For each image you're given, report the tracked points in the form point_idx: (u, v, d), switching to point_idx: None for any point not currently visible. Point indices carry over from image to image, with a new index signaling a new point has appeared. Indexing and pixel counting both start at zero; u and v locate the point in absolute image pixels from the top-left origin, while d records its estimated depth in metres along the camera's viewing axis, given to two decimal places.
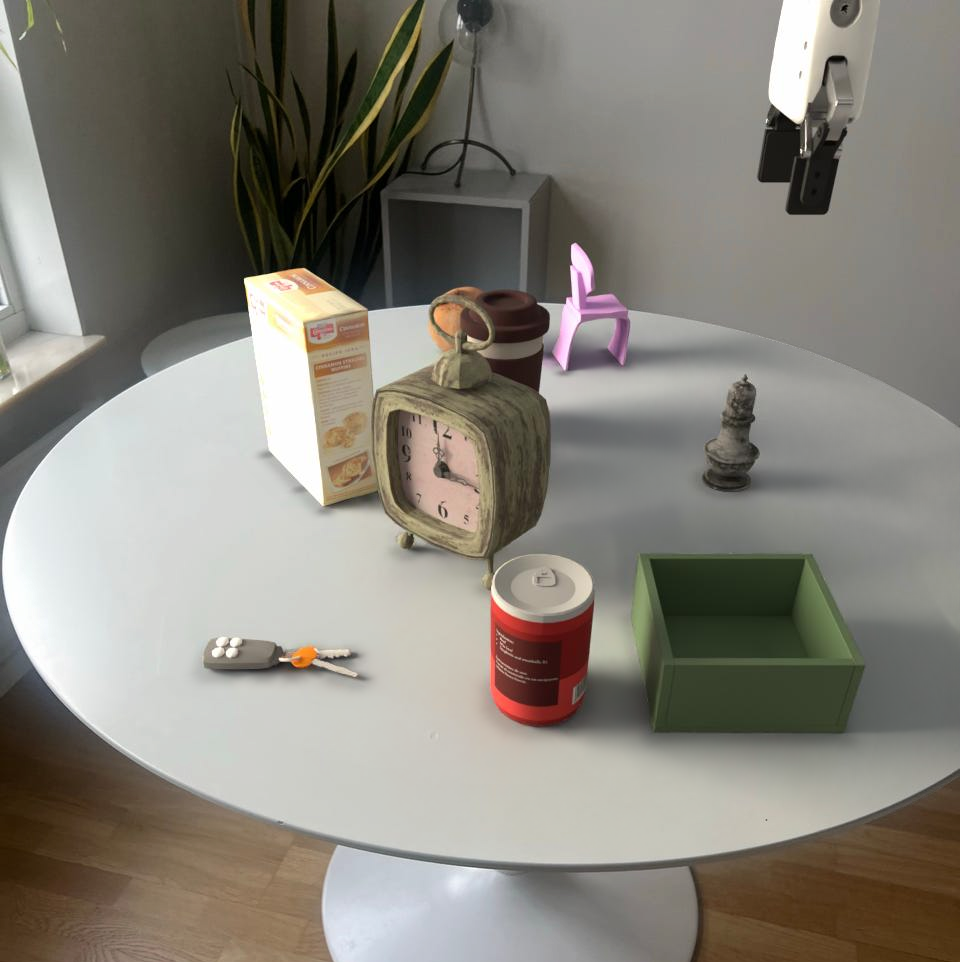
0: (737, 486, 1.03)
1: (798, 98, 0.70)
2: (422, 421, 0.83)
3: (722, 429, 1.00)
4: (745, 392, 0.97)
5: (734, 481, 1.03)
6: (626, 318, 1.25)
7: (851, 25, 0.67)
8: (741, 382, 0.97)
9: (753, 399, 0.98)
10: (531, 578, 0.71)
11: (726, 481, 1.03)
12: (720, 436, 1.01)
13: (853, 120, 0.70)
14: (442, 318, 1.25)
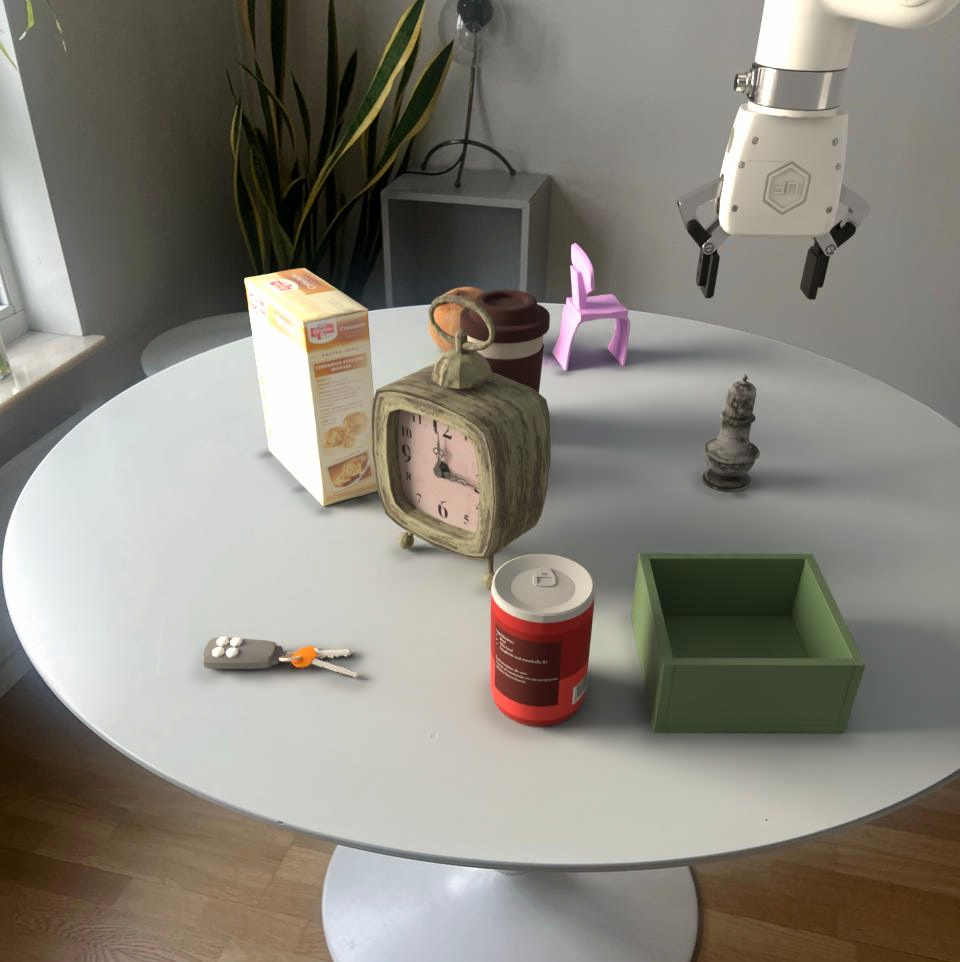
0: (737, 486, 1.03)
1: (720, 200, 0.88)
2: (422, 421, 0.83)
3: (722, 429, 1.00)
4: (745, 392, 0.97)
5: (734, 481, 1.03)
6: (626, 318, 1.25)
7: (729, 153, 0.84)
8: (741, 382, 0.97)
9: (753, 399, 0.98)
10: (531, 578, 0.71)
11: (726, 481, 1.03)
12: (720, 436, 1.01)
13: (724, 230, 0.86)
14: (443, 318, 1.25)
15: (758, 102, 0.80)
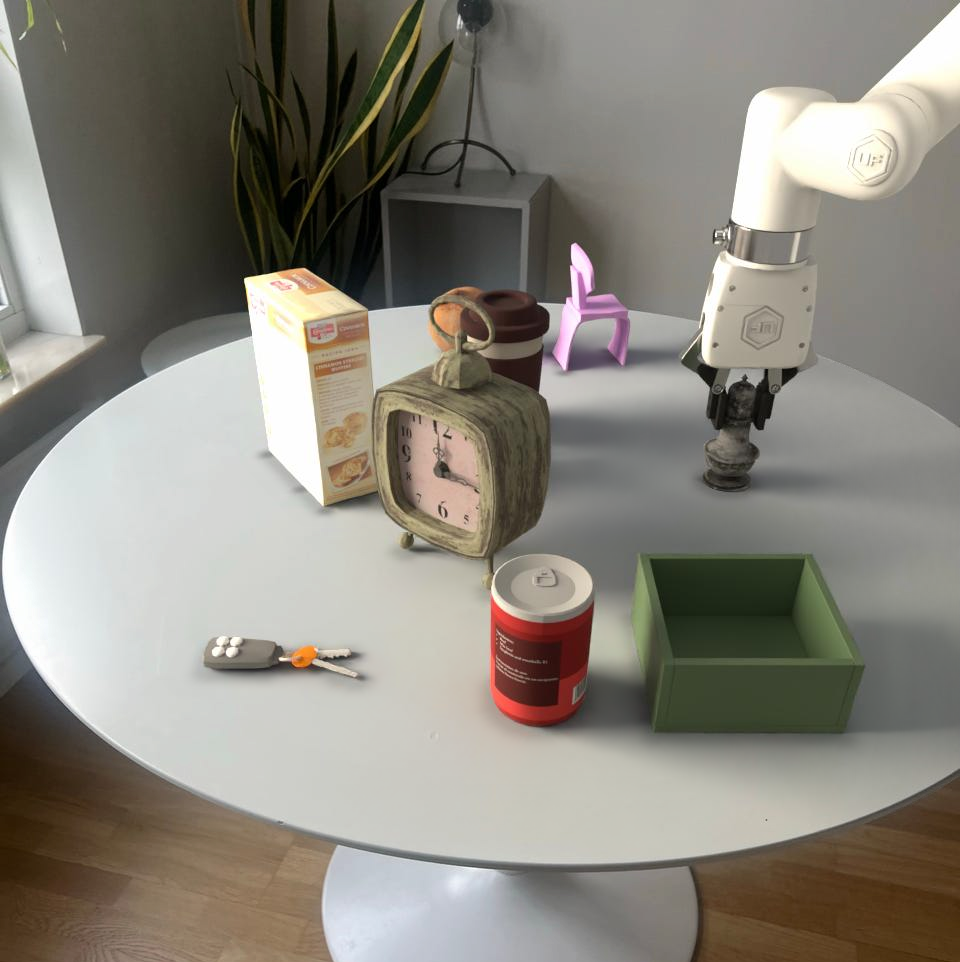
0: (737, 486, 1.03)
1: None
2: (422, 421, 0.83)
3: (722, 429, 1.00)
4: (745, 392, 0.97)
5: (734, 481, 1.03)
6: (626, 318, 1.25)
7: (710, 296, 0.92)
8: (741, 382, 0.97)
9: (753, 399, 0.98)
10: (531, 578, 0.71)
11: (726, 481, 1.03)
12: (720, 436, 1.01)
13: (706, 363, 0.94)
14: (443, 318, 1.25)
15: (734, 255, 0.88)
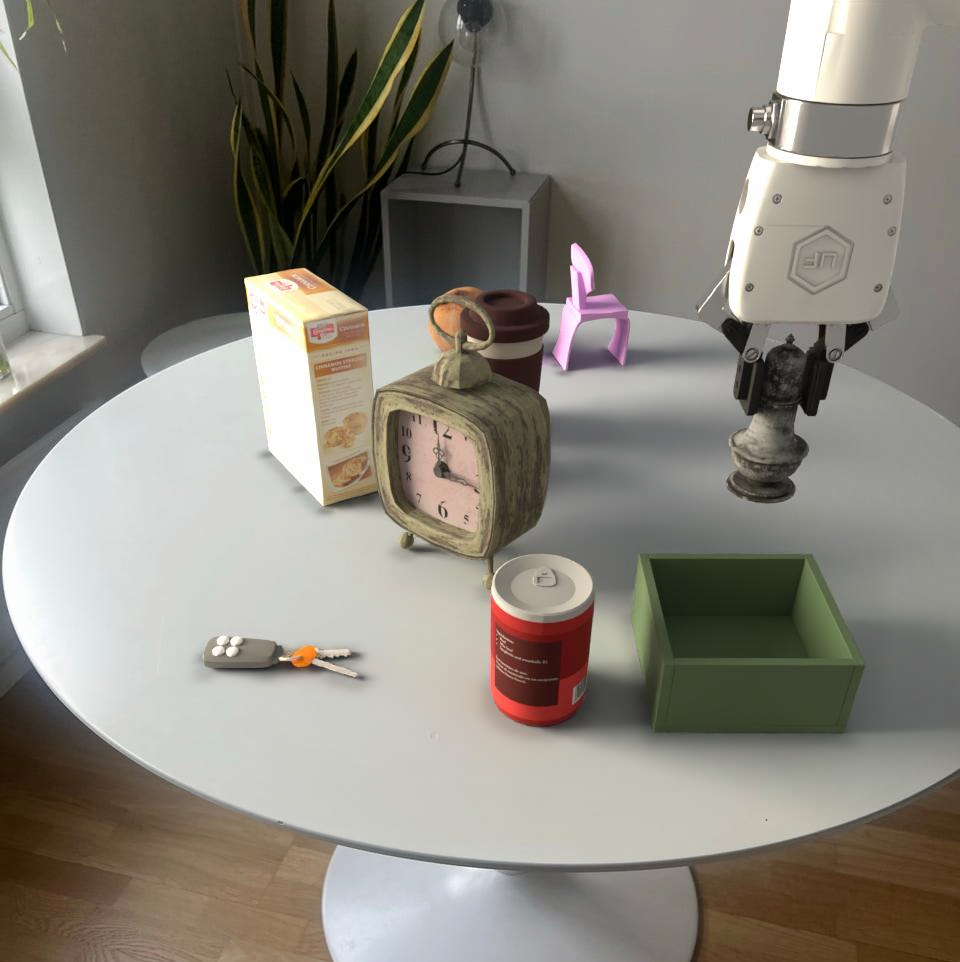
0: (777, 496, 0.72)
1: None
2: (422, 421, 0.83)
3: (756, 414, 0.70)
4: (790, 360, 0.67)
5: (772, 488, 0.73)
6: (626, 318, 1.25)
7: None
8: (785, 346, 0.67)
9: (802, 370, 0.68)
10: (531, 578, 0.71)
11: (760, 489, 0.73)
12: (753, 424, 0.71)
13: (736, 315, 0.64)
14: (442, 318, 1.25)
15: (781, 146, 0.58)
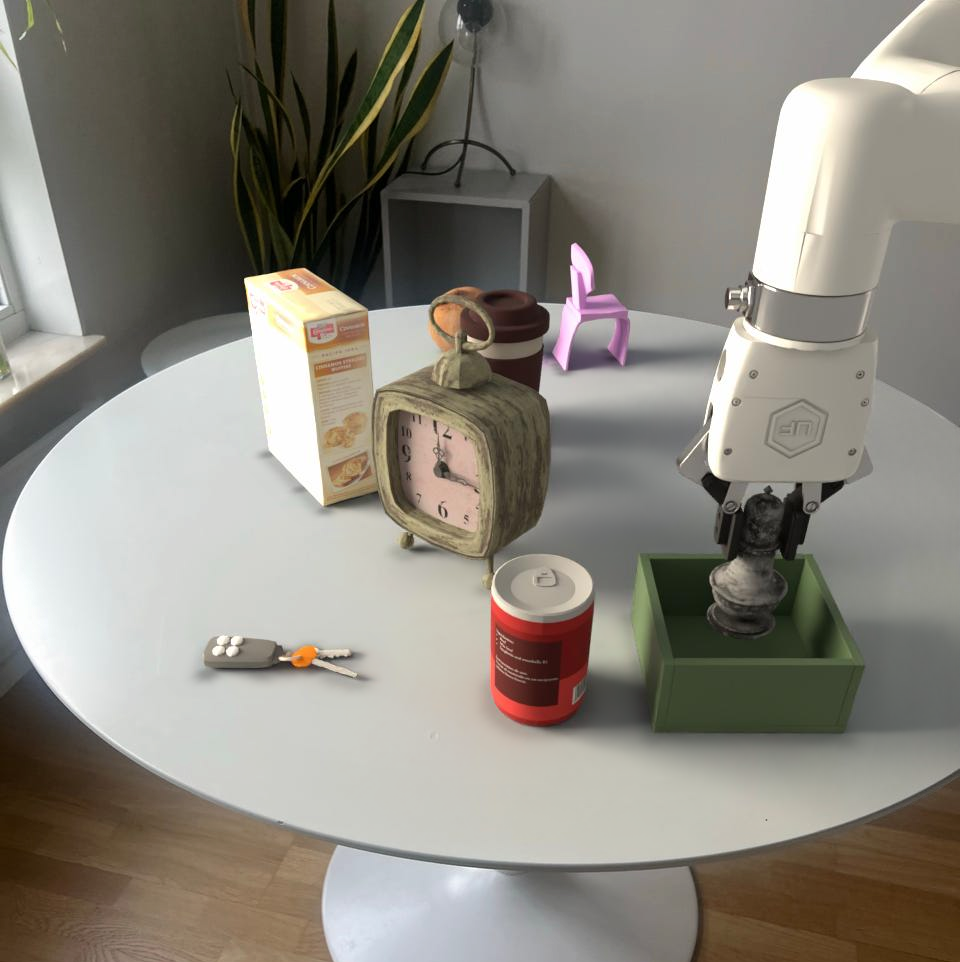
0: (756, 632, 0.74)
1: None
2: (422, 421, 0.83)
3: None
4: (768, 511, 0.69)
5: (752, 623, 0.75)
6: (626, 318, 1.25)
7: None
8: (763, 496, 0.69)
9: (780, 519, 0.69)
10: (531, 578, 0.71)
11: (740, 624, 0.75)
12: (733, 565, 0.73)
13: (715, 474, 0.66)
14: (443, 318, 1.25)
15: (757, 326, 0.60)
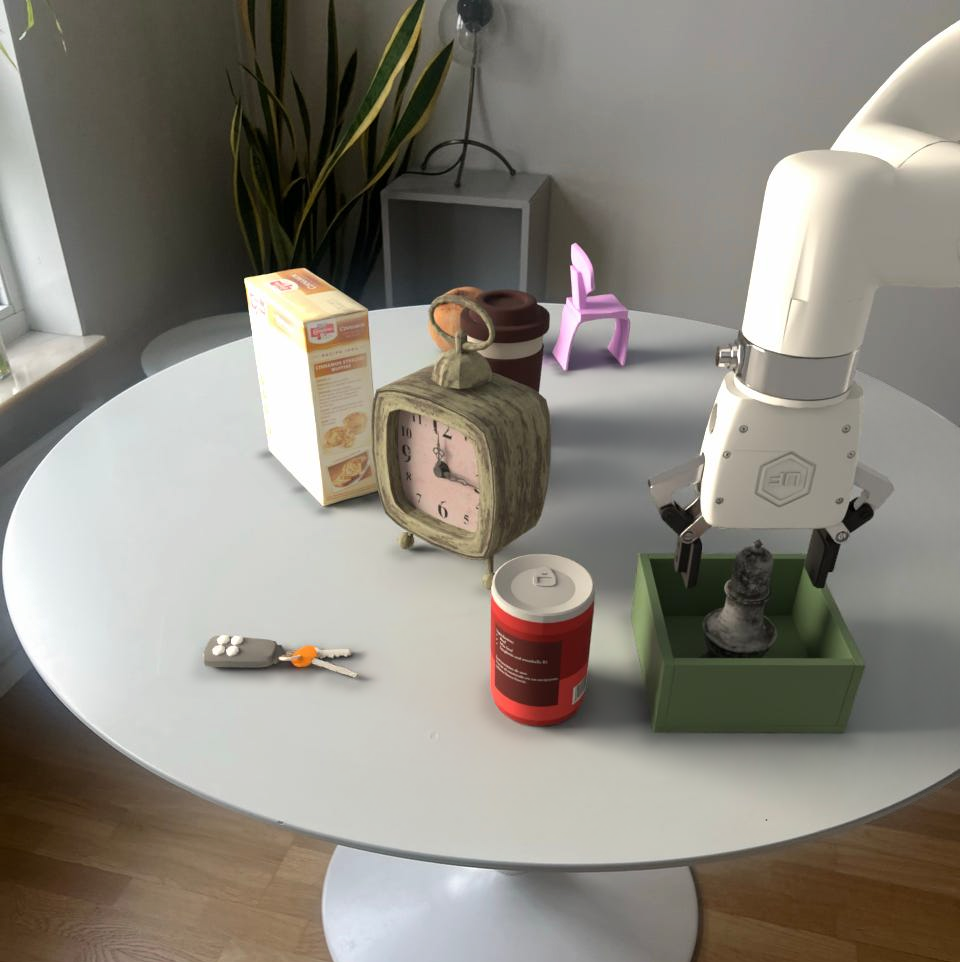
0: None
1: None
2: (422, 421, 0.83)
3: (727, 605, 0.75)
4: (758, 564, 0.71)
5: None
6: (626, 318, 1.25)
7: None
8: (753, 549, 0.72)
9: (769, 572, 0.72)
10: (531, 578, 0.71)
11: None
12: (724, 613, 0.76)
13: (707, 522, 0.68)
14: (443, 318, 1.25)
15: (746, 383, 0.62)
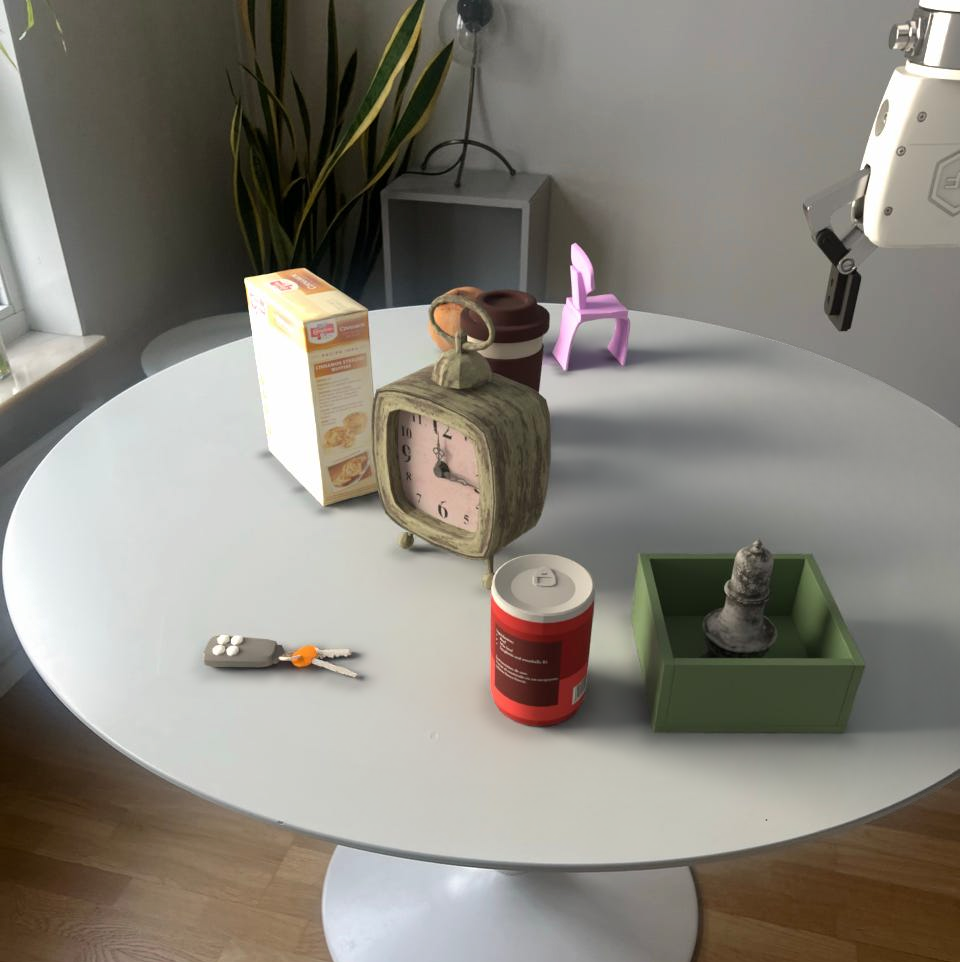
0: None
1: None
2: (422, 421, 0.83)
3: (727, 605, 0.75)
4: (758, 564, 0.72)
5: None
6: (626, 318, 1.25)
7: (880, 136, 0.61)
8: (753, 549, 0.72)
9: (769, 572, 0.72)
10: (531, 578, 0.71)
11: None
12: (724, 613, 0.76)
13: (871, 241, 0.63)
14: (443, 318, 1.25)
15: (927, 62, 0.57)
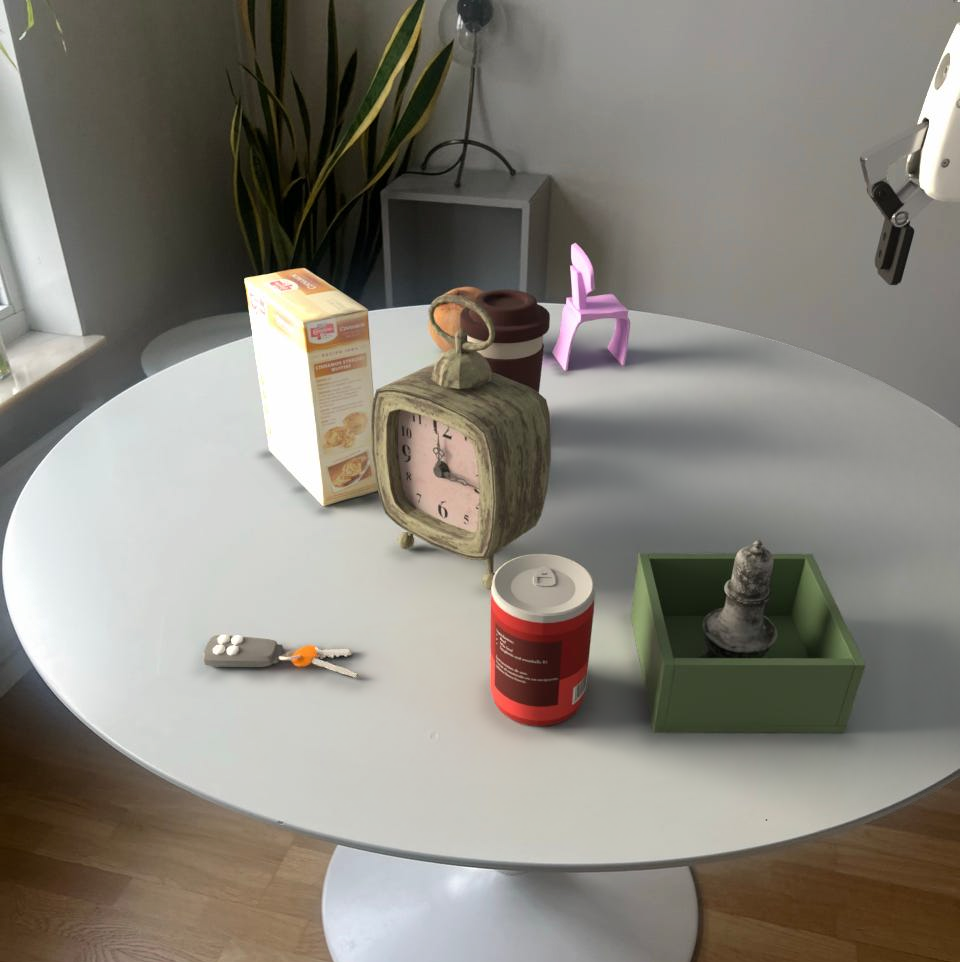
0: None
1: (913, 156, 0.67)
2: (422, 421, 0.83)
3: (727, 605, 0.75)
4: (758, 564, 0.72)
5: None
6: (626, 318, 1.25)
7: (940, 89, 0.62)
8: (753, 549, 0.72)
9: (769, 572, 0.72)
10: (531, 578, 0.71)
11: None
12: (724, 613, 0.76)
13: (927, 193, 0.65)
14: (443, 318, 1.25)
15: None
